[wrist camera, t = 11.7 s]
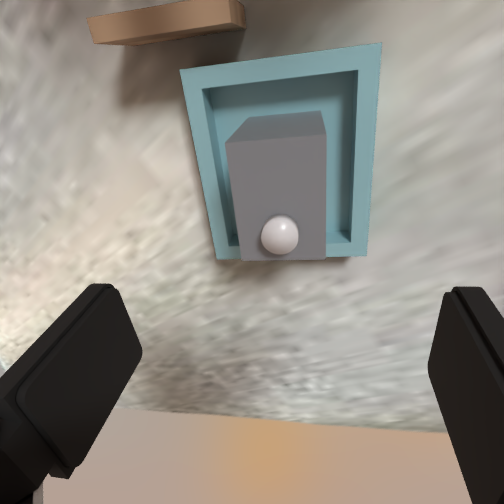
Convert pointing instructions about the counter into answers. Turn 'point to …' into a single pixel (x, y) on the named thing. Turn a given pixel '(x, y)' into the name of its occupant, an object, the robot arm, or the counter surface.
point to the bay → (167, 22)
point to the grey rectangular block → (280, 186)
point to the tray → (291, 101)
